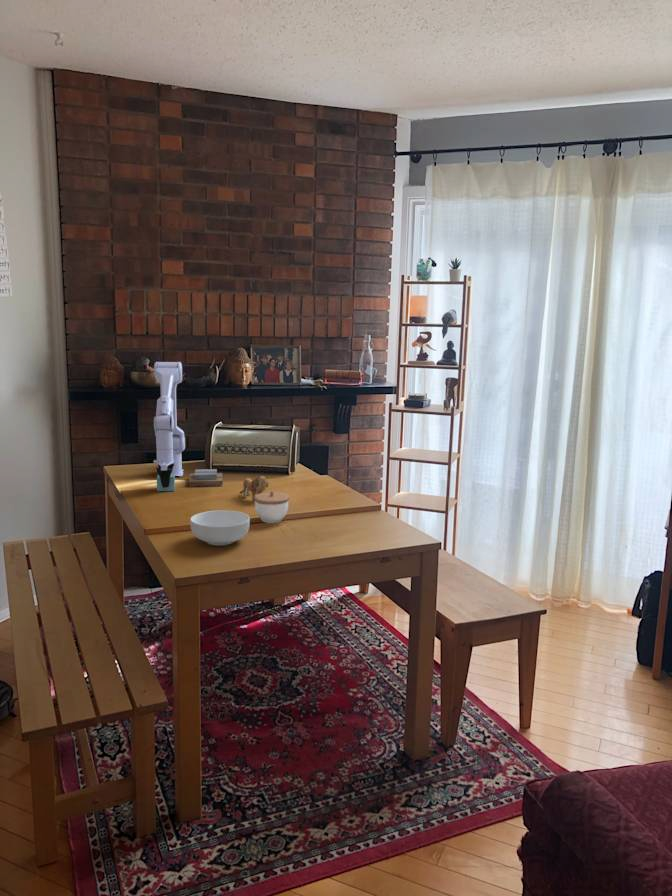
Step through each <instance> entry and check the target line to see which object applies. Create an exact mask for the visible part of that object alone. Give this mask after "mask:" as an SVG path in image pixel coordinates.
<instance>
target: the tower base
mask: <svg viewBox="0 0 672 896" xmlns="http://www.w3.org/2000/svg"><path fill="white" fill-rule="evenodd" d="M188 485H189V486H204V487H221V486H220V485H223V472H218V469H217V468H214V469H213V468H210V469H208V468H207V469H206V468H205V469H202V468H201V469H195V470H194V473H189V480H188ZM189 486H188V487H189Z"/></svg>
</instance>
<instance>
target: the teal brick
mask: <svg viewBox="0 0 672 896" xmlns="http://www.w3.org/2000/svg"><path fill="white" fill-rule="evenodd" d="M175 490H176V477H175V474H171V475H170V482H169V487H165V488H163V487H162V484H161V479H160V476H159V474H158V473H157V475H156V492H174V491H175Z"/></svg>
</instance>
